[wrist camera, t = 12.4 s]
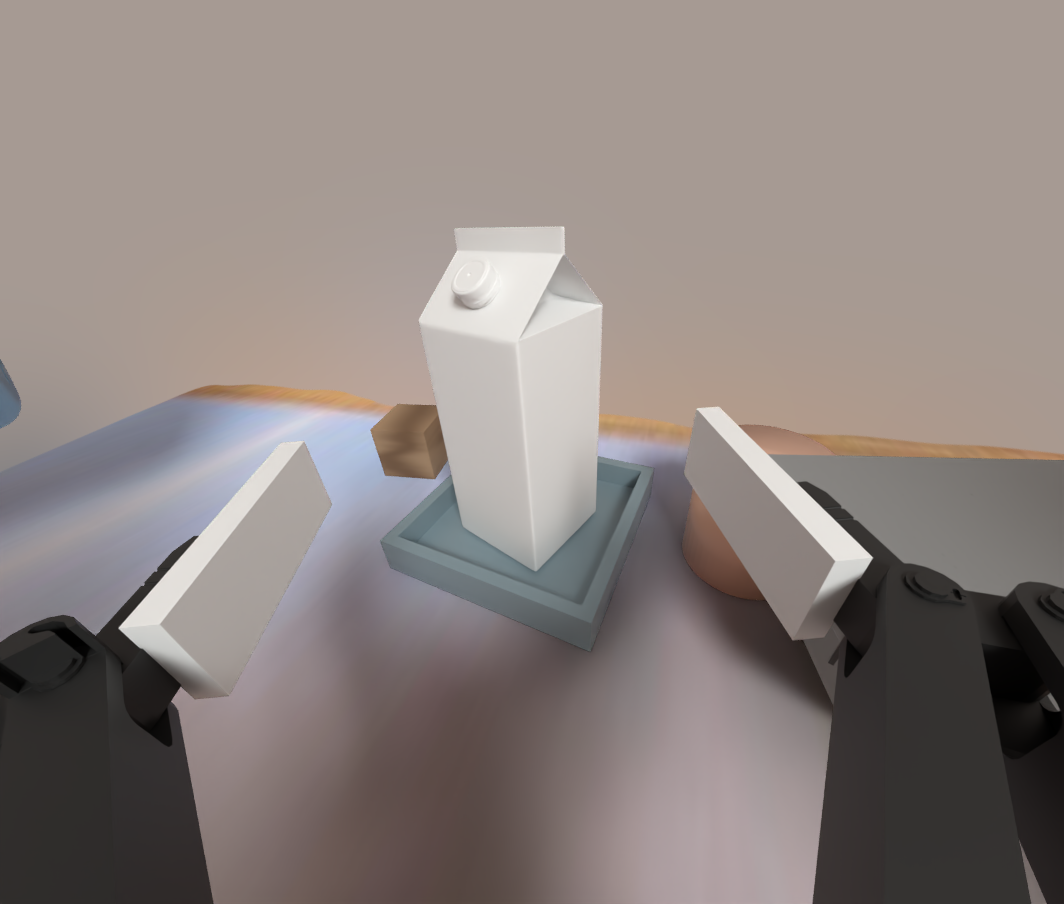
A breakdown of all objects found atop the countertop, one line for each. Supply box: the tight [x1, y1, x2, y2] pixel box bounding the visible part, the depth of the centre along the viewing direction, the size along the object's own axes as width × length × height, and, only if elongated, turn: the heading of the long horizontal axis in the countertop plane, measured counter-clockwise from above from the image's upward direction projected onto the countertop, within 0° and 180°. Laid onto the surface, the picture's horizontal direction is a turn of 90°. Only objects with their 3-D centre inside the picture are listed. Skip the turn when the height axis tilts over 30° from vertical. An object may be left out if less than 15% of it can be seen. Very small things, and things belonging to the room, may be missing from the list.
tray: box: [380, 456, 654, 652], centre depth 29 cm, size 15×15×3 cm
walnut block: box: [370, 404, 448, 479], centre depth 37 cm, size 5×5×5 cm
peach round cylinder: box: [682, 425, 836, 600], centre depth 24 cm, size 7×7×8 cm
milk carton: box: [419, 227, 603, 571], centre depth 24 cm, size 7×7×19 cm
